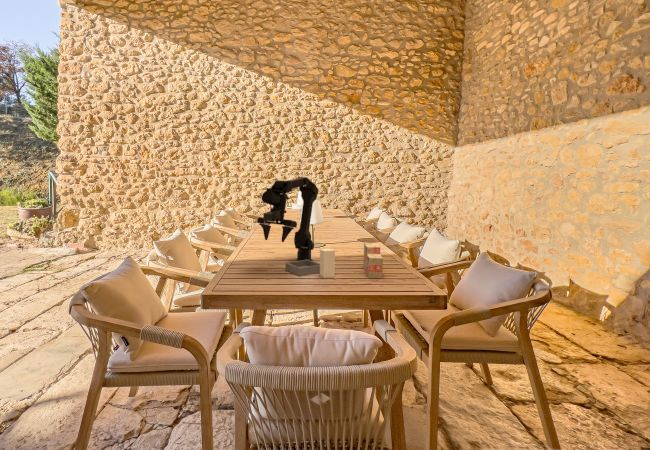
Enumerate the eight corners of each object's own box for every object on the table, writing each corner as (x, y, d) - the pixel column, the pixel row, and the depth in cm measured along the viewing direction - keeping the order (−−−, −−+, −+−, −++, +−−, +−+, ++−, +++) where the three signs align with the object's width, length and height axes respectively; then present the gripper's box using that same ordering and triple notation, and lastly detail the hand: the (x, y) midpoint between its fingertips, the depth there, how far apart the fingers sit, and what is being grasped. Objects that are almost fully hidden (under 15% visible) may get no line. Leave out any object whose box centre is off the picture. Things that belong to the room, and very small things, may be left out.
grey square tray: (307, 266, 184) (307, 259, 183) (322, 272, 174) (322, 264, 173) (285, 270, 176) (285, 262, 176) (300, 276, 166) (300, 268, 166)
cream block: (319, 275, 169) (320, 248, 167) (329, 274, 171) (330, 248, 169) (323, 278, 164) (324, 251, 163) (334, 276, 166) (334, 250, 165)
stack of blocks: (382, 278, 165) (383, 251, 164) (368, 278, 165) (369, 251, 164) (375, 266, 187) (376, 242, 185) (363, 266, 186) (364, 242, 185)
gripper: (252, 203, 169) (246, 237, 168) (286, 205, 161) (281, 241, 159) (266, 207, 179) (261, 239, 178) (299, 209, 170) (294, 243, 169)
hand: (274, 241), depth 171 cm, fingers open, 9 cm apart
